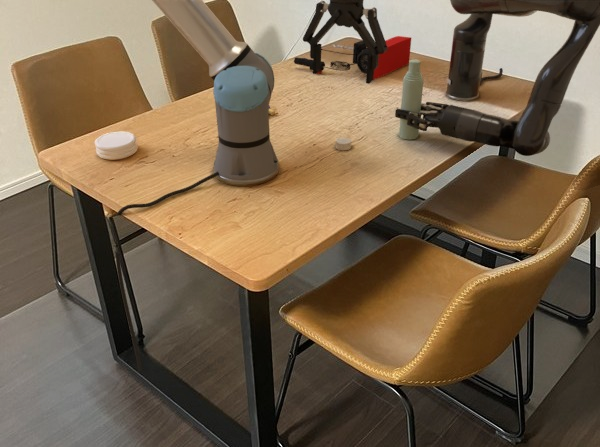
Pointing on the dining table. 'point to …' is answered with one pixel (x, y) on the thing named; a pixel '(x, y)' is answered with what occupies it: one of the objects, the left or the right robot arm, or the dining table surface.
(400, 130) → the bottle
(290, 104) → the dining table surface
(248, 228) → the dining table surface
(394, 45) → the electric hoist
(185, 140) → the dining table surface
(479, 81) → the right robot arm
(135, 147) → the white thick disc
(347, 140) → the cap
